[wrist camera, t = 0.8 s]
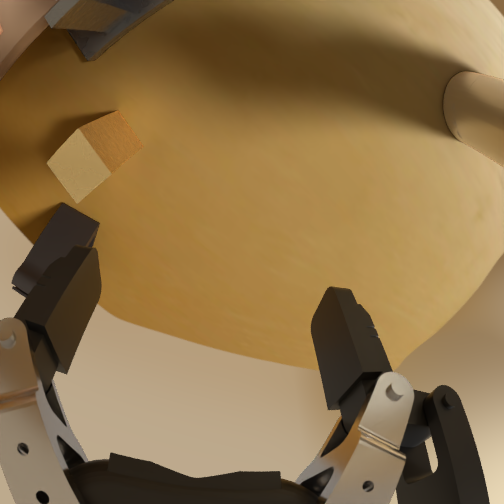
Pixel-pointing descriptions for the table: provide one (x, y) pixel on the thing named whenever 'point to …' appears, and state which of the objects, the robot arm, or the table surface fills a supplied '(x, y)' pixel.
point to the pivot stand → (100, 21)
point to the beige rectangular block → (94, 154)
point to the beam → (20, 27)
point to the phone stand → (54, 245)
